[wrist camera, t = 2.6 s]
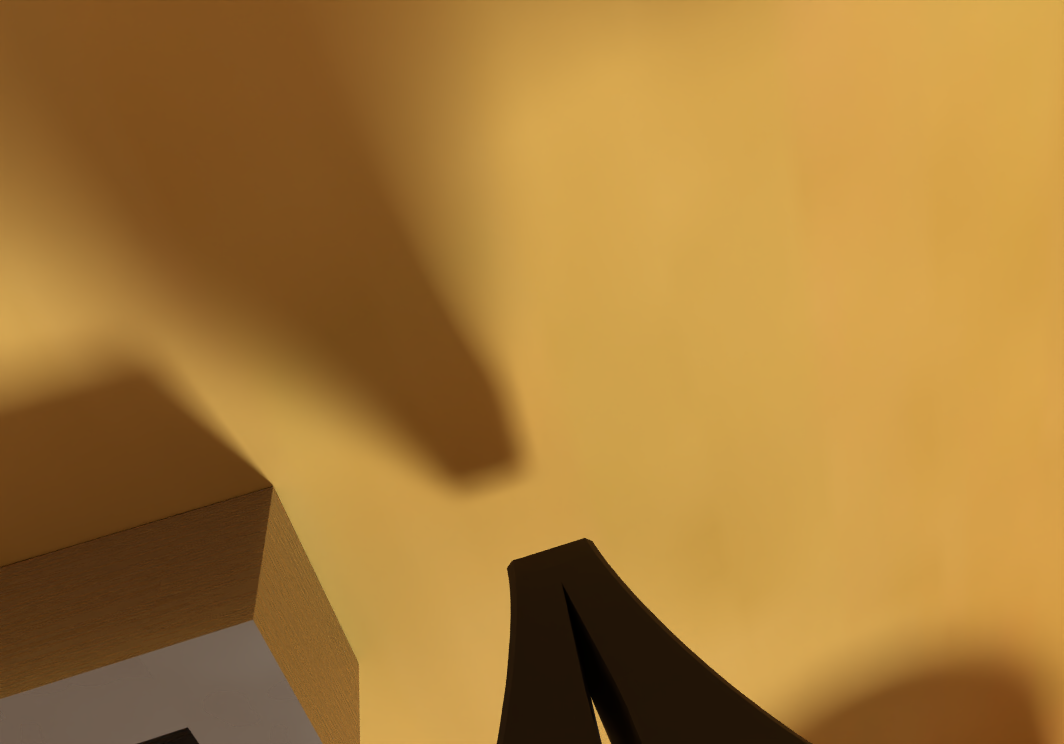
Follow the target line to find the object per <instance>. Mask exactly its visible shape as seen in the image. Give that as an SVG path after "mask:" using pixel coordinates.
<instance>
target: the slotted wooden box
mask: <svg viewBox="0 0 1064 744" xmlns="http://www.w3.org/2000/svg"><path fill="white" fill-rule="evenodd" d="M0 744H360V721H359V664H358V662H357V659H356V657H355V655H354V653H353V651H352V649H351V647H350V645H349V643H348V641H347V639H346V637H345V635H344V632H343V630H342V628H341V626H340V624H339V622H338V620H337V618H336V616H335V614H334V612H333V610H332V608H331V605H330V603H329V601H328V599H327V597H326V595H325V593H324V591H323V589H322V587H321V585H320V583H319V581H318V578H317V576H316V574H315V572H314V570H313V568H312V566H311V564H310V562H309V560H308V558H307V556H306V554H305V551H304V549H303V547H302V545H301V543H300V541H299V539H298V537H297V535H296V533H295V531H294V529H293V527H292V524H291V522H290V520H289V518H288V516H287V514H286V512H285V510H284V508H283V506H282V504H281V502H280V500H279V497H278V495H277V493H276V491H275V489H274V487H270V488H267V489H263V490H260V491H257V492H253V493H250V494H247V495H243V496H240V497H236V498H233V499H230V500H226V501H223V502H220V503H216V504H213V505H210V506H206V507H203V508H199V509H196V510H193V511H189V512H186V513H183V514H179V515H176V516H173V517H169V518H166V519H163V520H159V521H156V522H152V523H149V524H146V525H142V526H139V527H136V528H132V529H129V530H126V531H122V532H119V533H115V534H112V535H109V536H105V537H102V538H99V539H95V540H92V541H89V542H85V543H82V544H79V545H75V546H72V547H68V548H65V549H62V550H58V551H55V552H52V553H48V554H45V555H42V556H38V557H35V558H32V559H28V560H25V561H21V562H18V563H15V564H11V565H8V566H5V567H1V568H0Z"/></svg>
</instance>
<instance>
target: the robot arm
mask: <svg viewBox="0 0 1064 744" xmlns="http://www.w3.org/2000/svg"><path fill="white" fill-rule="evenodd" d="M507 571H508V577H509V584H510V599H511V622H510V643H509V656H508V668H507V679H506V687H505V694H504V701H503V708H502V715H501V722H500V728H499V735H498V740H497V744H602V743H601V739H600V734H599V730H598V726H597V721H596V717H595V713H594V709H593V704H592V700H593V703H594V705H595V707H596V710H597V712H598V714H599V717H600V719H601V721H602V724H603V726H604V728H605V730H606V733H607V735H608V737H609V740H610V742H611V744H812V743H810V742H808V741H807V740H805V739H804V738H802V737H801V736H799V735H798V734H796V733H795V732H794V731H792V730H791V729H789V728H788V727H787V726H785V725H784V724H782V723H781V722H780V721H778V720H777V719H775V718H774V717H773V716H771V715H770V714H769V713H767V712H766V711H764V710H763V709H762V708H760V707H759V706H758V705H757V704H755V703H754V702H753V701H751V700H750V699H749V698H747V697H746V696H745V695H744V694H742V693H741V692H740V691H738V690H737V689H736V688H735V687H733V686H732V685H731V684H730V683H728V682H727V681H726V680H725V679H724V678H722V677H721V676H720V675H719V674H718V673H716V672H715V671H714V670H713V669H712V668H711V667H709V666H708V665H707V664H706V663H705V662H704V661H703V660H701V659H700V658H699V657H698V656H697V655H696V654H695V653H694V652H692V651H691V650H690V649H689V648H688V647H687V646H686V645H685V644H684V643H683V642H681V641H680V640H679V639H678V638H677V637H676V636H675V635H674V634H673V633H672V632H671V631H670V630H669V629H668V628H667V627H666V626H665V625H664V624H663V623H662V622H661V621H660V620H659V619H658V618H657V617H656V616H655V615H654V614H653V613H652V612H651V611H650V610H649V609H648V608H647V607H646V606H645V605H644V604H643V603H642V602H641V601H640V600H639V599H638V598H637V596H636V595H635V594H634V593H633V592H632V591H631V590H630V589H629V588H628V586H627V585H626V584H625V583H624V582H623V581H622V580H621V578H620V577H619V576H618V575H617V574H616V572H615V571H614V570H613V569H612V568H611V566H610V565H609V564H608V563H607V561H606V560H605V559H604V557H603V556H602V555H601V553H600V552H599V550H598V549H597V548H596V546H595V544H594V543H593V541H590V540H588V539H586V538H583V539H580V540H577V541H574V542H571V543H567V544H564V545H561V546H558V547H555V548H551V549H548V550H545V551H542V552H539V553H536V554H532V555H529V556H526V557H523V558H520V559H516V560H513V561H512V562H511V563H510V565H509V566H508V568H507ZM591 698H592V700H591Z"/></svg>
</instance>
